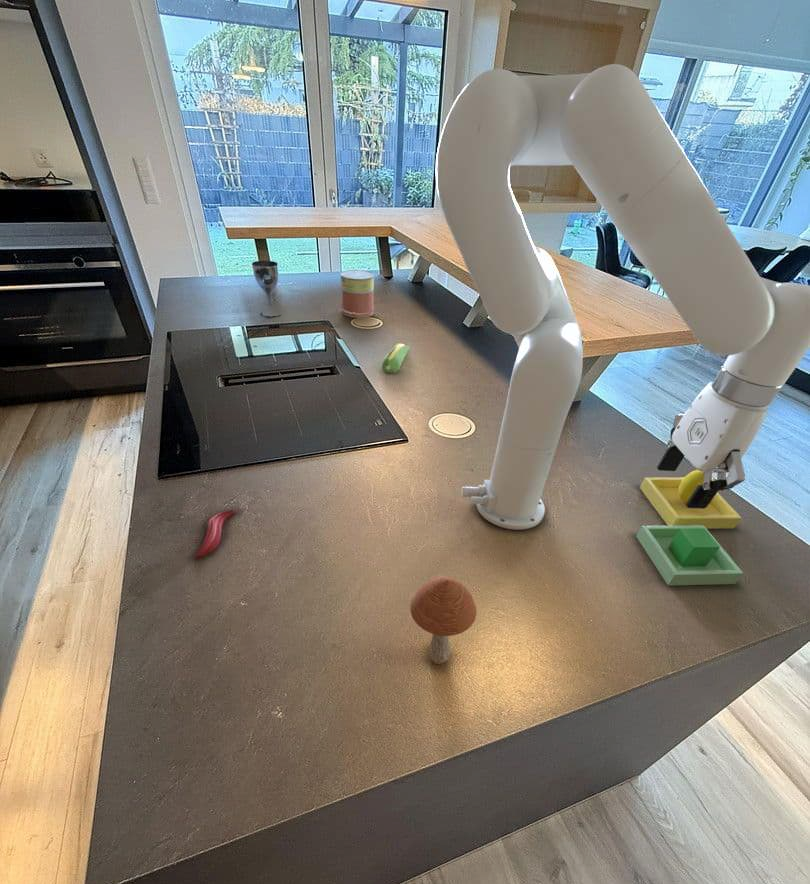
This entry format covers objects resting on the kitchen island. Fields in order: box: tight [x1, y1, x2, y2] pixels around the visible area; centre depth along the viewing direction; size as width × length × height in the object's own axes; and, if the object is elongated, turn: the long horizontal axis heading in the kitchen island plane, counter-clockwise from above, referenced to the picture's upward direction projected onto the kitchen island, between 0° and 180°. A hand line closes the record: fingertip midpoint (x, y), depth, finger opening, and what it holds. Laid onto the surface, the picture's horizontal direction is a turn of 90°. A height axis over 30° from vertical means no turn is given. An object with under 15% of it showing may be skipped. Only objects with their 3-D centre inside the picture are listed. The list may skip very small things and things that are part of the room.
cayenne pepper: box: [194, 509, 236, 558], centre depth 76 cm, size 12×5×2 cm, turn 160°
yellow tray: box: [639, 477, 742, 530], centre depth 89 cm, size 13×13×3 cm
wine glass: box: [251, 260, 279, 308], centre depth 152 cm, size 8×8×15 cm
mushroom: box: [409, 575, 477, 665], centre depth 57 cm, size 8×8×15 cm
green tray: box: [636, 525, 744, 586], centre depth 78 cm, size 12×12×3 cm
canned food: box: [340, 269, 375, 319], centre depth 159 cm, size 11×11×12 cm
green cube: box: [668, 528, 721, 567], centre depth 77 cm, size 4×4×4 cm
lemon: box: [678, 469, 717, 505], centre depth 86 cm, size 6×6×8 cm
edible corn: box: [381, 342, 411, 374], centre depth 131 cm, size 5×20×5 cm, turn 166°
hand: (679, 487), depth 74 cm, fingers open, 9 cm apart
